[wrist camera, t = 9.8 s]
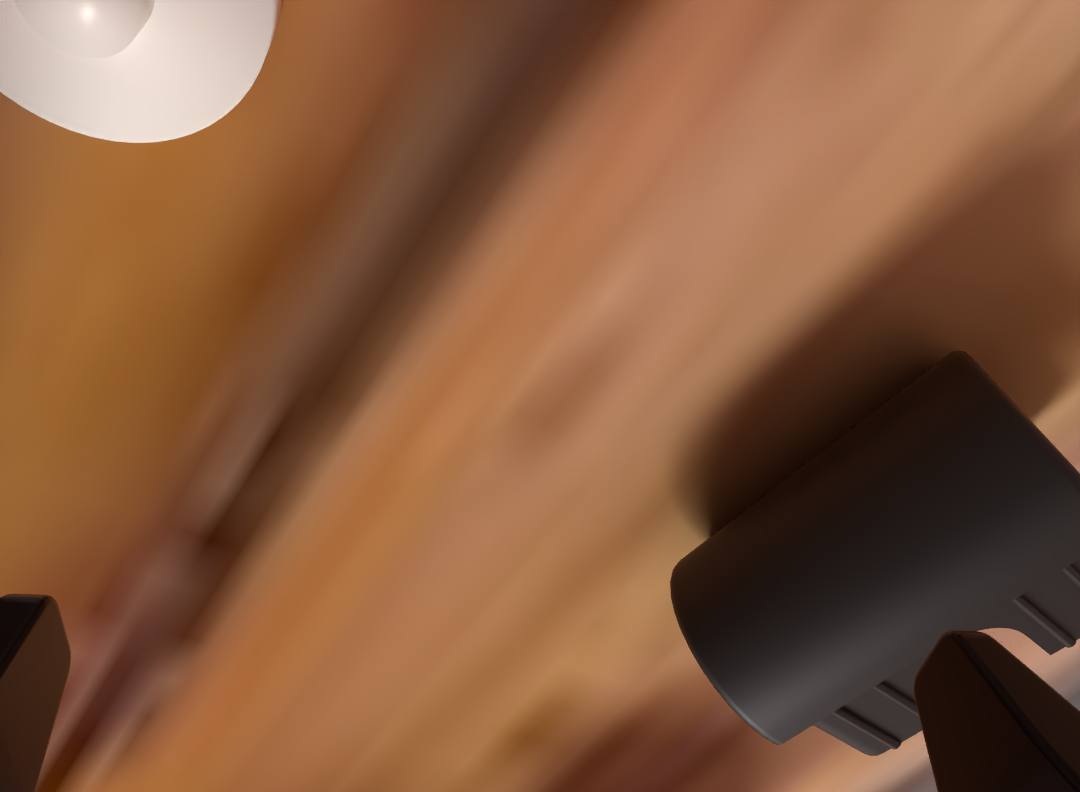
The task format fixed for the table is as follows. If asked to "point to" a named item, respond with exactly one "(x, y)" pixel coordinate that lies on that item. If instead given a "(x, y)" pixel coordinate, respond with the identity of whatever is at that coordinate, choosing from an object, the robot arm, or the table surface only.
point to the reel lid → (133, 62)
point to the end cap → (886, 562)
